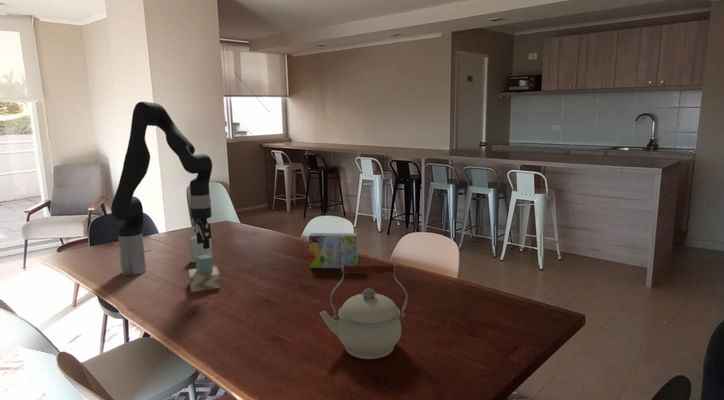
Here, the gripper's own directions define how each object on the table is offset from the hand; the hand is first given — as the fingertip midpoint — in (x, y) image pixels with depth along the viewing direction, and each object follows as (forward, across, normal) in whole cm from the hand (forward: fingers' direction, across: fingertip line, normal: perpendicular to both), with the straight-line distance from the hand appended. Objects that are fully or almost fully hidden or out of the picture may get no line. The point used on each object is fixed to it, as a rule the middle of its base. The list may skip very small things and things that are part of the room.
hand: (203, 245), depth 182 cm
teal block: (+10, 0, 0) cm, 10 cm away
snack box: (+16, +12, +53) cm, 57 cm away
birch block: (+16, +1, 0) cm, 16 cm away
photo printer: (+16, -34, +8) cm, 39 cm away
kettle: (+15, +80, +22) cm, 84 cm away
